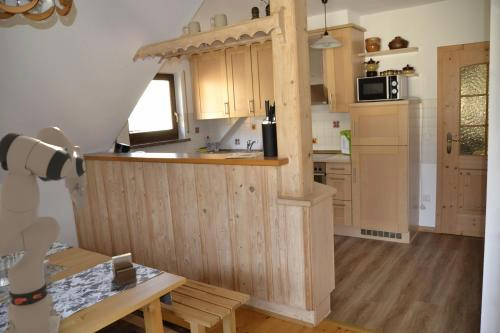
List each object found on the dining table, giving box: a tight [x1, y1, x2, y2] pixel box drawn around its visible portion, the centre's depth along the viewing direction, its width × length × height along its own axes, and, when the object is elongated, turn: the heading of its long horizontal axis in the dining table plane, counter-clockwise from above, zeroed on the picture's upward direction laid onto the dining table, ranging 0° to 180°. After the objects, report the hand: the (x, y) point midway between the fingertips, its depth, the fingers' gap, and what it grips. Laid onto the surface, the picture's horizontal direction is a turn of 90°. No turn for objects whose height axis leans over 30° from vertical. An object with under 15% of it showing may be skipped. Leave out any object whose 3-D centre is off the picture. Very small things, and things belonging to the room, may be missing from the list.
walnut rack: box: [111, 262, 138, 286], centre depth 184 cm, size 9×8×6 cm
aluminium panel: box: [111, 252, 133, 278], centre depth 186 cm, size 2×8×9 cm, turn 120°
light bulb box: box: [43, 259, 53, 286], centre depth 180 cm, size 11×7×11 cm, turn 168°
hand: (79, 212), depth 183 cm, fingers closed
